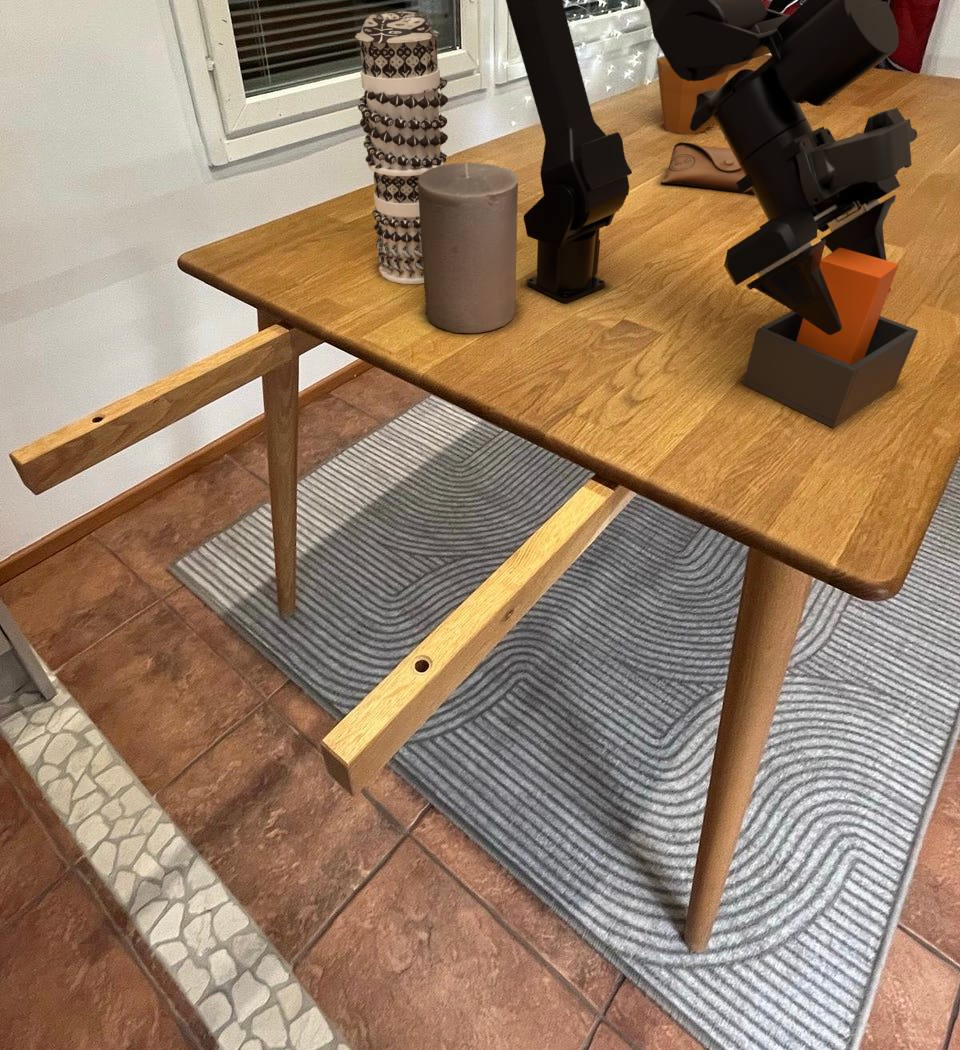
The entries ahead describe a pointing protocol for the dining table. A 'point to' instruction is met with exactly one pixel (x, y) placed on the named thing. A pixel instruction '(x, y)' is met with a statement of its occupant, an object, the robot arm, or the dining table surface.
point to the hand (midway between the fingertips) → (861, 312)
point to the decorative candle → (400, 131)
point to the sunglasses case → (704, 167)
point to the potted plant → (681, 97)
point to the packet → (851, 303)
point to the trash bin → (825, 369)
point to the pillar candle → (469, 245)
